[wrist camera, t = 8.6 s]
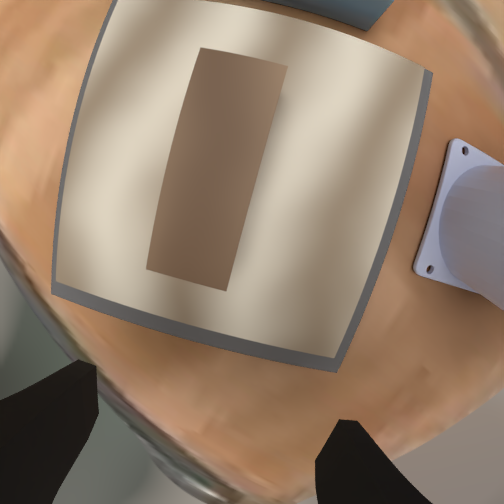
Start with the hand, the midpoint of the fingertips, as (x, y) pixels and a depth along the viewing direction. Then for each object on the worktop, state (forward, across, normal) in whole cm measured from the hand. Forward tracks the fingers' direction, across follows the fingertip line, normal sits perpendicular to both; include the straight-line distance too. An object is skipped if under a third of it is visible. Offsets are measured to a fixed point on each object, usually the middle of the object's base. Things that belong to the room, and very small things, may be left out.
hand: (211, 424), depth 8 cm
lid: (+9, +2, -7) cm, 11 cm away
